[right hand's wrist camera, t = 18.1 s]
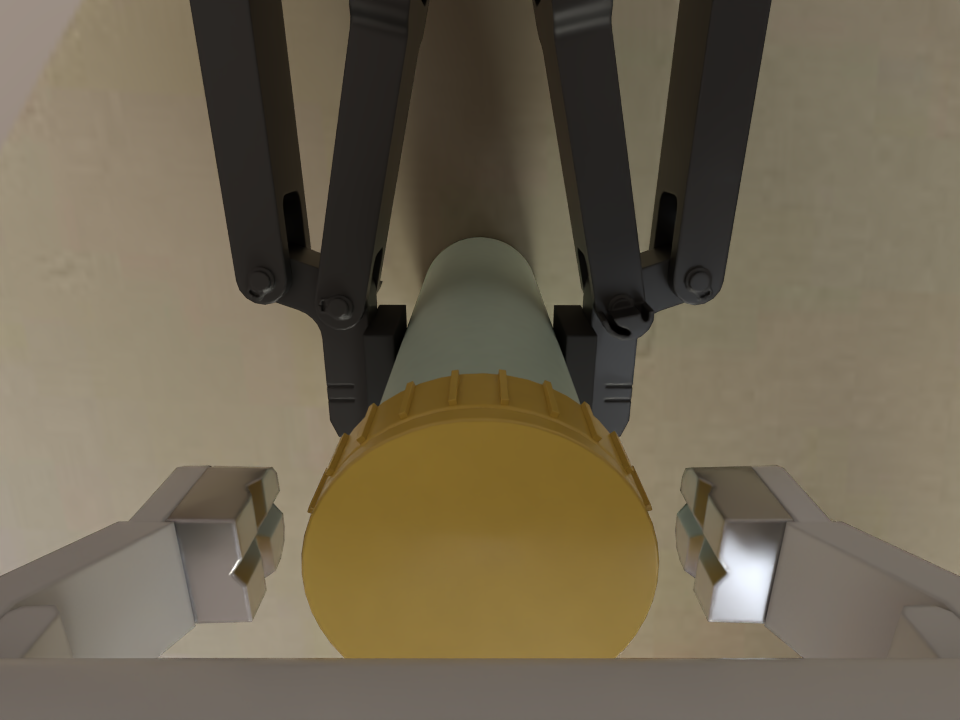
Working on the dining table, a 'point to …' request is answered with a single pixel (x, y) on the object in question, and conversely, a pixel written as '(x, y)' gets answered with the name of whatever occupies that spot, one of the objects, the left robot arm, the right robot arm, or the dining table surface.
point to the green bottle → (480, 321)
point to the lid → (480, 528)
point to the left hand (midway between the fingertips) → (479, 523)
